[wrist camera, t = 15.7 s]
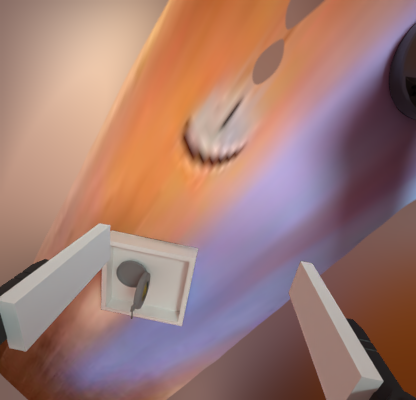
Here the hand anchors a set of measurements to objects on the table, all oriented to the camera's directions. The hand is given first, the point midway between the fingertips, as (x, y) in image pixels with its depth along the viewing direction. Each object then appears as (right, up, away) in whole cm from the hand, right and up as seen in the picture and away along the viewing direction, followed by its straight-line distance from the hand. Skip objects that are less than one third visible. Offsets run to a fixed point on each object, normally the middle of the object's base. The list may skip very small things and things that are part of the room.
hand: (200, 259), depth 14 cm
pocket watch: (-14, -12, +30) cm, 35 cm away
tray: (-12, -12, +31) cm, 35 cm away
